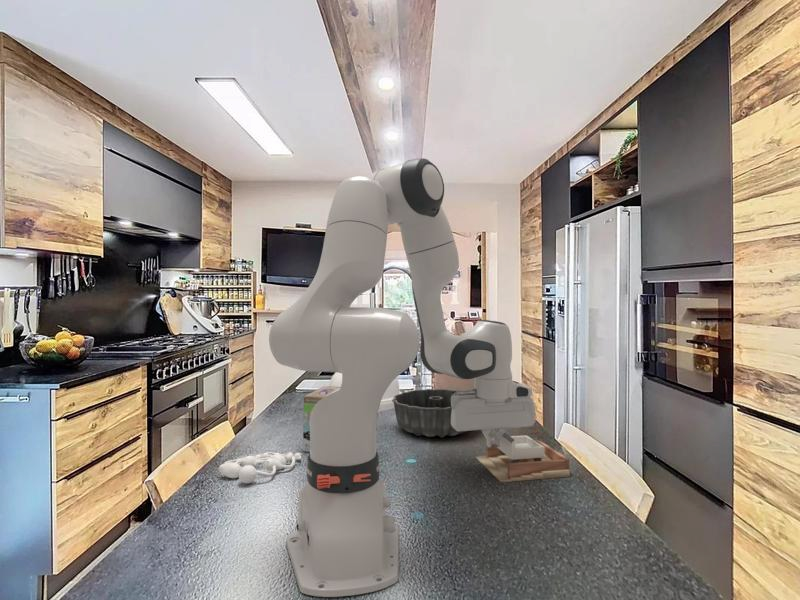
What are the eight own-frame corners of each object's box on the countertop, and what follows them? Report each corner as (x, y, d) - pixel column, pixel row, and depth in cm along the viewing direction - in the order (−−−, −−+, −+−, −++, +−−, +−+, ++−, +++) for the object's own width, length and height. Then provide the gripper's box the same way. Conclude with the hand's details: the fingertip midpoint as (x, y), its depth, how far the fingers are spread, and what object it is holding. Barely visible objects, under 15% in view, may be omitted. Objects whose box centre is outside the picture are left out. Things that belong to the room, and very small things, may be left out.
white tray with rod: (544, 464, 108) (544, 436, 108) (509, 466, 106) (510, 438, 106) (526, 451, 117) (526, 425, 117) (494, 453, 115) (494, 427, 115)
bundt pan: (380, 438, 133) (380, 403, 133) (406, 415, 158) (406, 386, 158) (472, 448, 125) (472, 410, 125) (484, 422, 151) (485, 391, 150)
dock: (571, 476, 106) (571, 460, 106) (500, 482, 102) (500, 465, 102) (537, 452, 121) (537, 438, 121) (475, 457, 118) (475, 442, 118)
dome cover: (315, 397, 186) (315, 362, 186) (385, 391, 198) (385, 358, 198) (337, 417, 157) (337, 375, 156) (417, 408, 168) (417, 369, 168)
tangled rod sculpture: (276, 456, 122) (276, 440, 123) (316, 463, 114) (315, 446, 114) (209, 478, 107) (208, 460, 107) (249, 488, 98) (248, 468, 99)
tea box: (338, 455, 120) (338, 397, 119) (301, 452, 122) (301, 395, 121) (355, 437, 134) (355, 386, 134) (322, 435, 136) (322, 384, 136)
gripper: (455, 393, 105) (455, 454, 106) (538, 389, 109) (538, 447, 110) (446, 387, 112) (447, 445, 112) (526, 383, 116) (526, 439, 116)
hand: (493, 446), depth 111 cm, fingers closed
